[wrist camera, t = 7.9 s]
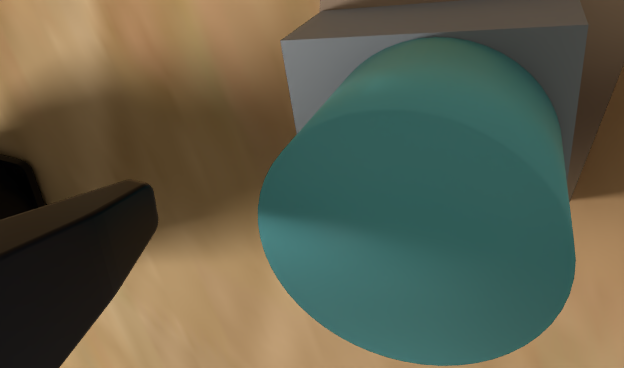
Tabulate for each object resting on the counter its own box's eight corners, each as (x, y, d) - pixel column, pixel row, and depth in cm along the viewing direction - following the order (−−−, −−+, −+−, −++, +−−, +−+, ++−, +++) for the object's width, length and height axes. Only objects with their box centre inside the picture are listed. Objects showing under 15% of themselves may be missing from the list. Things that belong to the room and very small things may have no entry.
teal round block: (529, 265, 12) (528, 398, 9) (324, 220, 14) (265, 321, 11) (595, 51, 10) (628, 141, 6) (327, 25, 11) (248, 87, 8)
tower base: (549, 195, 18) (552, 246, 15) (339, 152, 20) (313, 190, 18) (635, -45, 13) (658, -25, 11) (353, -67, 16) (322, -54, 13)
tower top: (549, 215, 15) (553, 282, 13) (346, 200, 17) (317, 253, 15) (576, -9, 12) (588, 24, 9) (321, 10, 14) (280, 40, 12)
